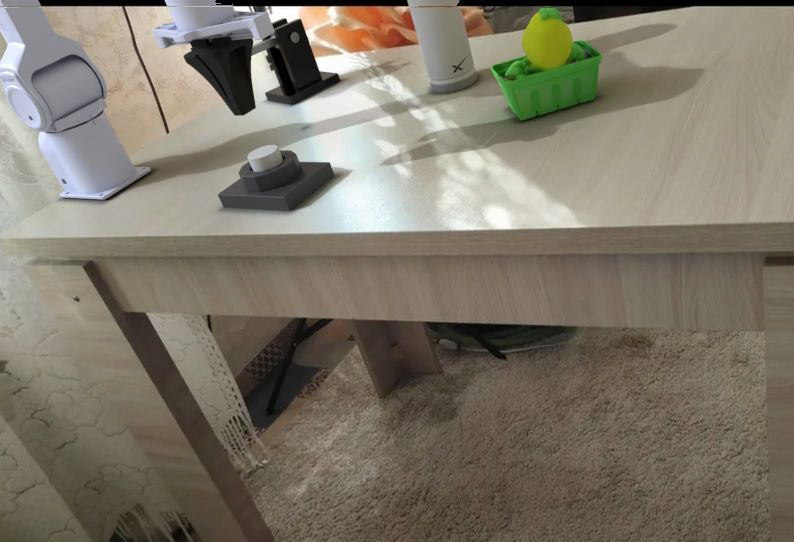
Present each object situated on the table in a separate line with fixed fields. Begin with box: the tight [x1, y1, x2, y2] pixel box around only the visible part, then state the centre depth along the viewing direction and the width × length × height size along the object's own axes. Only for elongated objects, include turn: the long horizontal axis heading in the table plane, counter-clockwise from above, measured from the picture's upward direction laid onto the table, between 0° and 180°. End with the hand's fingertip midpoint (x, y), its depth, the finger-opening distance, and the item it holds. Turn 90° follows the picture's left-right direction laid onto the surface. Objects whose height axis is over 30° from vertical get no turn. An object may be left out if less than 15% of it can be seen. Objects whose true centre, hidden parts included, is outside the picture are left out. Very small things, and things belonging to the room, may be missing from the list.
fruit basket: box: [490, 6, 603, 121], centre depth 85 cm, size 11×9×11 cm
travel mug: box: [407, 0, 478, 94], centre depth 96 cm, size 6×7×20 cm
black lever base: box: [261, 17, 342, 106], centre depth 112 cm, size 9×7×10 cm
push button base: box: [217, 149, 335, 212], centre depth 85 cm, size 10×8×4 cm
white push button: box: [246, 144, 283, 172], centre depth 83 cm, size 3×3×2 cm
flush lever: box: [251, 33, 279, 57], centre depth 109 cm, size 11×3×3 cm, turn 136°
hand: (245, 111), depth 80 cm, fingers closed
